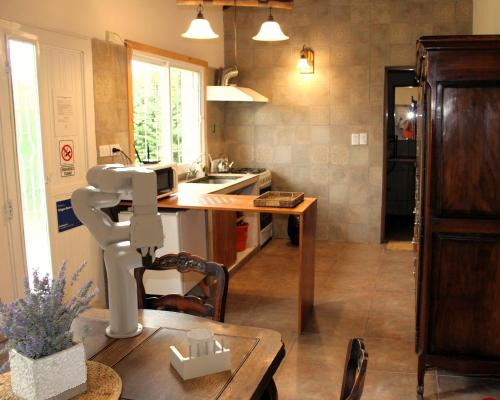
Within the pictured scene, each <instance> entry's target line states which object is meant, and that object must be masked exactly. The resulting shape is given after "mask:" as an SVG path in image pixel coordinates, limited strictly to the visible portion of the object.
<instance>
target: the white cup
mask: <svg viewBox="0 0 500 400" xmlns="http://www.w3.org/2000/svg"><path fill="white" fill-rule="evenodd" d="M186 334H187V335H186V337H187V339H186V340H187V351H188V353H189V344H191V357H193V356H197V343H199V350H200V355H202V354H206V347H205V341H207V342H208V353H211V352H213V340H214V339H215V337H214V335H215V334H214V331H213V330H212V329H209V328H194V329H191V330H189V331H188V332H187V333H186Z"/></svg>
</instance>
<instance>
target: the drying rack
mask: <svg viewBox="0 0 500 400" xmlns="http://www.w3.org/2000/svg"><path fill="white" fill-rule="evenodd" d="M220 342H221V343H220ZM220 342H219V341H217V339H216V338H214V340H213V352H211V353H208V342H207V341H205V347H206V354H202V355H200V350H199V343H197V356H193V357H191V344H189V352H188V356H187V357H184V356H182V354H181V353H180V352H179V350H178V349H177V348H176V347H175V346H174V345H171V346H169V362H170V364H171V366H172V367H173V368H174V369H175V370H176V372H177V373H178V374H179V375H180V377H181V378H182V380H184V381H186V380H192V379H196V378H200V377H204V376H209V375H213V374H217V373H222V372H226V371H230V370H232V369H231V350H230V349H229V348H227V349H226V347H224V346H225V345H224V337H221V341H220Z"/></svg>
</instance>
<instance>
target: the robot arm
mask: <svg viewBox="0 0 500 400" xmlns="http://www.w3.org/2000/svg"><path fill="white" fill-rule="evenodd" d="M85 177H86V178H85V179H86V181H87V183H88V186H82V187H78V188H77V189H75V190H73V192H72V193H71V196H70V203H71V208H72V211H73V213H74V215H75V217H76V218H77V219H78V220H79V221H80V222H81V223H82V224H83V225H84V226H85V227H86V228H87V229H88V231H89V232H90V234H91V236H92V238H93V239H94V240H95V242H96V243H97V245H98V246H99V248H101V249H102V250H103V251H104V252H103V261H104V264H105V265H104V266H105V269H106V275H107V276H106V277H107V290H108V311H109V312H108V313H109V325H108V326H107V327H106V328H105V334H106V336H108V337H110V338H112V339H127V338H132V337H135V336H138V335H140V334H141V333H142V332H143V331H144V329H143V327H144V325H142V324H141V323H139V313H138V311H139V309H138V288H137V280H136V278H135V277H134V275H133V274H132V273H131V272H130V270H133V269H136V268H144V269H146V270H148V269H152V265H153V263H154V261H155V260H156V256H157V252H156V251H157V250H161V249H163V248H164V243H165V235H164V226H163V219H162V216H161V213H159V212H158V210H159V209H158V182H157V178H158V177H157V173H156V171H154V170H153V169H147V168H145V167H141V166H140V167H137V166H136V167H126V166H125V165H124V164H121V163H110V164H98V165H94V166H92V167H90V168H89V169H88V171H87V173H86V176H85ZM130 192H131V194H132V195H131V199H132V205H131V206H130V207H128V208H127V211H128V213H132V214H131V215H130V218H129V219H130V220H129V221H125V220H124V221H121V222H117V221H116V222H115V221H112V219H111V217H110V216H109V215H108V214H107V213H106V212H104V211H102V210H100V209H101V208H112V207H115V206H118V204H119V203H120V202H121V200H122V197H123V195H124V193H130Z"/></svg>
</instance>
